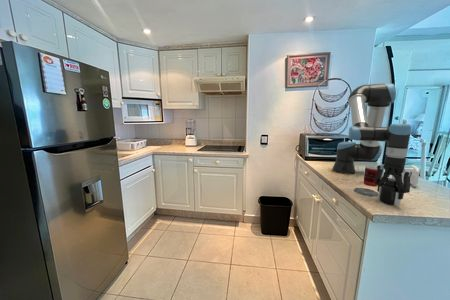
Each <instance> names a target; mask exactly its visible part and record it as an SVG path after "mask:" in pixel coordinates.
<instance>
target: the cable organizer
mask: <svg viewBox="0 0 450 300" xmlns="http://www.w3.org/2000/svg"><path fill="white" fill-rule="evenodd" d="M404 169H405V170H406V171H408V172H412V175H411V177H410V186H412V187H413V188H417V186H418V184H419V183H418V182H419V177H420V172H421V171H420V168H418V167H417V166H416V165H413V164H411V166H410V167H405V166H404ZM403 174H404V173H402V182H403V178H404V175H403ZM391 178H392V179H395V178H394V176H392V175H391Z"/></svg>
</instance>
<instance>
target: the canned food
mask: <svg viewBox="0 0 450 300" xmlns="http://www.w3.org/2000/svg"><path fill="white" fill-rule="evenodd" d="M376 173H377V166H374V165H373V166H372V165H366V166H365V169H364V174H363V175H364V177H363V184H364V185H366V186H370V187H378V185H377V184H375V183H374V181H375V177H376Z"/></svg>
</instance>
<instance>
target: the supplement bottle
mask: <svg viewBox="0 0 450 300" xmlns="http://www.w3.org/2000/svg"><path fill="white" fill-rule="evenodd" d="M396 192H398V188H397V184H396V180H395V179H392V177H390V178H389V177H388V178H386V179H385V183H384V184H382V187H381V194H380V199H379V201H380V202H381V203H383V204H385V205H388V206H389V205H390V206H395V205H394V202H395V196H396Z"/></svg>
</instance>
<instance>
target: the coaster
mask: <svg viewBox="0 0 450 300" xmlns="http://www.w3.org/2000/svg"><path fill="white" fill-rule="evenodd" d="M353 192H355V193H356V192H357V194H358V195H362V196H366V197H378V193H379V192H378V191H376V190H373V189H371V188H366V187H355V188H353Z"/></svg>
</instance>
